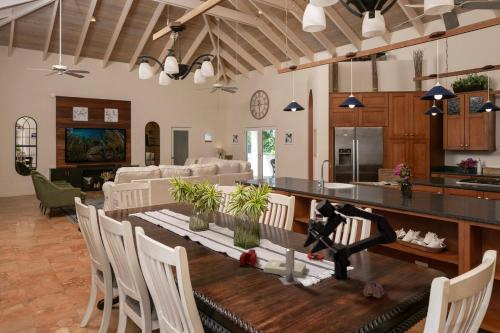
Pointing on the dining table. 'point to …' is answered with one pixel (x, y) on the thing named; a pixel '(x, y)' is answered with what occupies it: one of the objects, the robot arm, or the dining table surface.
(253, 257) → the mechanical linkage
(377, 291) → the skull
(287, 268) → the steel pin
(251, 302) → the dining table surface
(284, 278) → the pad
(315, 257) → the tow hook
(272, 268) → the hole board
